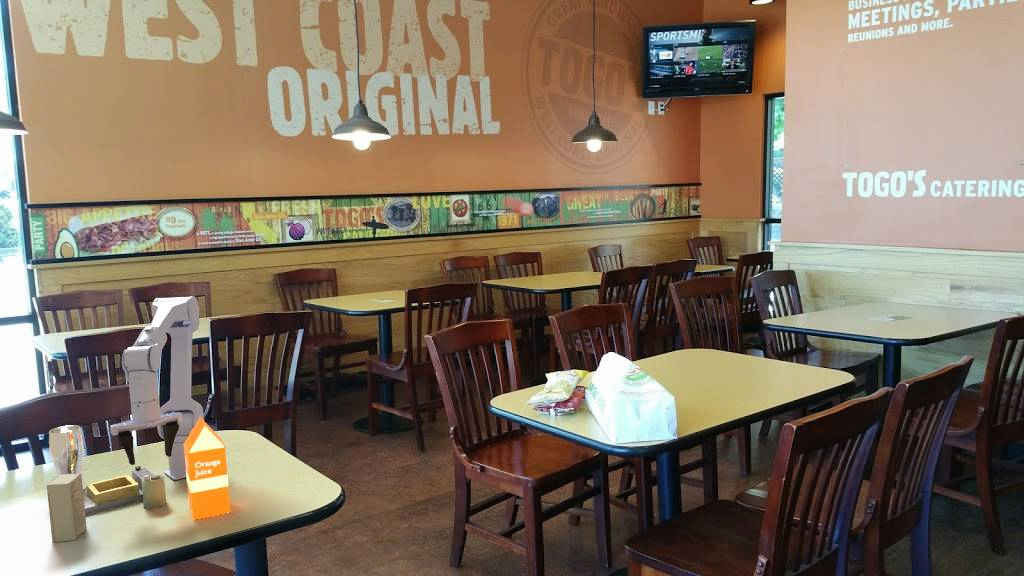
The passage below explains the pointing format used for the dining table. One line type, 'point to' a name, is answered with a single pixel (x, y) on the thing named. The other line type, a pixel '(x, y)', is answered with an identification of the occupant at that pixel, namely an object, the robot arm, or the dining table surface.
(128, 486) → the grey metal fixture plate
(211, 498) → the orange juice
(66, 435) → the beer glass
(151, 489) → the spout can
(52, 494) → the skincare box
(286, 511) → the dining table surface
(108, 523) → the dining table surface
